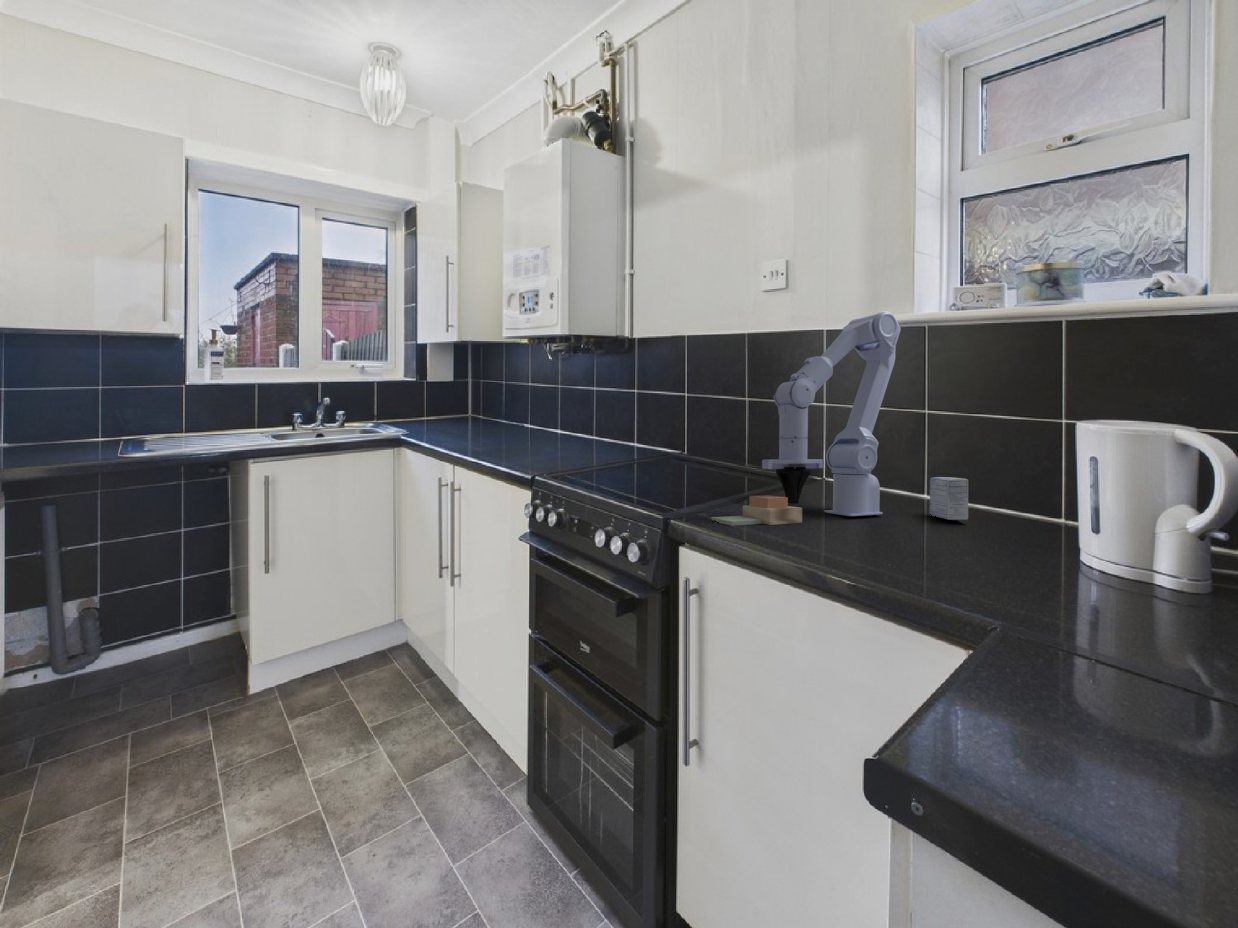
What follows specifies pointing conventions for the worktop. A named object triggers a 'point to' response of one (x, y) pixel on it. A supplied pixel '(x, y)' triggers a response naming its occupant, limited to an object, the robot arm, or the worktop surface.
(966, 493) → the medicine box
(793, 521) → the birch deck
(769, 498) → the terracotta block
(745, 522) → the sage mat
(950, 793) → the worktop surface
